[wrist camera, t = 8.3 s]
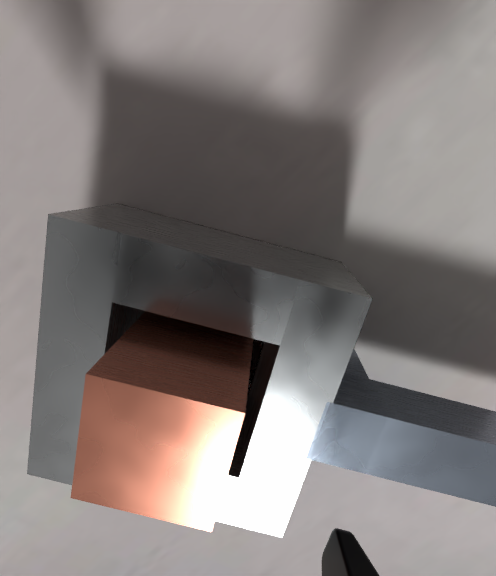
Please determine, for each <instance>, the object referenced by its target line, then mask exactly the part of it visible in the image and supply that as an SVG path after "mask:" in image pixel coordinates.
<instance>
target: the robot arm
mask: <svg viewBox="0 0 496 576" xmlns="http://www.w3.org/2000/svg"><path fill="white" fill-rule="evenodd" d="M322 576H379V574H378V573H377V571H376V570H375V568H374V566H373V565H372V563H371V562H370V560H369V559H368V557H367V555H366V554H365V552H364V551H363V549H362V548H361V546H360V544H359V543H358V541H357V540H356V538H355V537H354V535H353V534H352V533H351V532H349V531H345V530H341V529H334V530H333V531H332V533H331V535H330V538H329V540H328V542H327V545H326V547H325V549H324V552H323V556H322Z"/></svg>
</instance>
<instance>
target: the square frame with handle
mask: <svg viewBox="0 0 496 576" xmlns="http://www.w3.org/2000/svg"><path fill="white" fill-rule="evenodd" d="M371 301H372V297H371V296H370V295H369V294H368V293H367V292H366V290H365V289H364V288H363V287H362V286H361V285H360V283H359V282H358V281H357V280H356V279H355V278H354V276H353V275H352V274H351V273H350V272H349V270H348V269H347V268H346V267H345V266H344V265H343V263H342V262H339V261H335V260H331V259H327V258H324V257H320V256H316V255H312V254H308V253H305V252H301V251H297V250H293V249H289V248H285V247H282V246H278V245H274V244H270V243H266V242H262V241H259V240H255V239H251V238H247V237H243V236H240V235H236V234H232V233H228V232H224V231H220V230H217V229H213V228H209V227H205V226H201V225H197V224H194V223H190V222H186V221H182V220H178V219H174V218H171V217H167V216H163V215H159V214H155V213H152V212H148V211H144V210H140V209H136V208H132V207H129V206H125V205H121V204H111V205H104V206H98V207H91V208H85V209H79V210H72V211H66V212H59V213H53V214H48V223H47V235H46V247H45V260H44V272H43V284H42V297H41V309H40V322H39V334H38V346H37V359H36V371H35V383H34V396H33V408H32V420H31V433H30V445H29V458H28V470H27V474H29V475H33V476H37V477H41V478H45V479H49V480H53V481H57V482H61V483H65V484H69V485H72V484H73V475H74V467H75V459H76V450H77V442H78V433H79V425H80V417H81V408H82V400H83V392H84V383H85V375H86V373H87V372H88V371H89V370H90V369H91V368H92V367H93V366H94V365H95V364H96V363H97V361H98V360H99V359H100V358H101V357H102V356H103V355H104V354H105V353H106V352H107V351H108V350H109V349H110V348H111V347H112V346H113V345H114V344H115V343H116V342H117V341H118V339H119V338H120V337H121V336H122V335H123V334H124V333H125V332H126V331H127V330H128V329H129V328H130V327H131V326H132V325H133V324H134V323H135V322H136V321H137V320H138V319H139V317H140V316H141V315H142V314H143V313H144V312H145V311H148V312H151V313H155V314H159V315H163V316H167V317H171V318H175V319H179V320H183V321H186V322H190V323H194V324H198V325H202V326H206V327H210V328H214V329H217V330H221V331H225V332H229V333H233V334H237V335H241V336H245V337H249V338H252V339H256V340H260V341H264V344H263V347H262V351H261V354H260V358H259V361H258V365H257V368H256V371H255V375H254V378H253V382H252V385H251V388H250V392H249V395H248V398H247V402H246V411H245V416H244V419H243V423H242V426H241V430H240V433H239V437H238V440H237V444H236V448H235V451H234V455H233V458H232V462H231V465H230V469H229V472H228V476H227V479H226V483H225V486H224V490H223V493H222V497H221V500H220V504H219V507H218V511H217V515H216V518H215V521H218V522H222V523H226V524H230V525H234V526H238V527H242V528H246V529H250V530H254V531H258V532H262V533H266V534H270V535H274V536H278V537H283V534H284V531H285V529H286V526H287V523H288V521H289V518H290V515H291V513H292V510H293V508H294V505H295V502H296V500H297V497H298V494H299V492H300V489H301V486H302V484H303V481H304V479H305V476H306V473H307V471H308V468H309V465H310V463H311V460H314V461H318V462H322V463H326V464H330V465H333V466H337V467H341V468H345V469H349V470H353V471H357V472H361V473H365V474H369V475H373V476H377V477H381V478H385V479H389V480H393V481H397V482H401V483H405V484H409V485H412V486H416V487H420V488H424V489H428V490H432V491H436V492H440V493H444V494H448V495H452V496H456V497H460V498H464V499H468V500H472V501H476V502H480V503H484V504H488V505H491V506H495V507H496V412H495V411H491V410H487V409H483V408H480V407H476V406H472V405H468V404H464V403H460V402H456V401H452V400H448V399H445V398H441V397H437V396H433V395H429V394H425V393H421V392H417V391H413V390H410V389H406V388H402V387H398V386H394V385H390V384H386V383H382V382H378V381H374V380H371V379H369V378H368V376H367V374H366V372H365V370H364V368H363V366H362V364H361V362H360V360H359V358H358V356H357V353H356V351H355V349H354V346H355V344H356V341H357V338H358V336H359V333H360V331H361V328H362V325H363V323H364V320H365V317H366V315H367V312H368V309H369V307H370V304H371Z"/></svg>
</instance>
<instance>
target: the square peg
mask: <svg viewBox="0 0 496 576" xmlns="http://www.w3.org/2000/svg"><path fill="white" fill-rule="evenodd" d="M252 347H253V339H252V338H249V337H245V336H241V335H237V334H233V333H229V332H225V331H221V330H217V329H214V328H210V327H206V326H202V325H198V324H194V323H190V322H186V321H183V320H179V319H175V318H171V317H167V316H163V315H159V314H155V313H151V312H148V311H145V312H144V313H143V314H142V315H141V316H140V317H139V319H138V320H137V321H136V322H135V323H134V324H133V325H132V326H131V327H130V328H129V329H128V330H127V331H126V332H125V333H124V334H123V335H122V336H121V337H120V338H119V339H118V341H117V342H116V343H115V344H114V345H113V346H112V347H111V348H110V349H109V350H108V351H107V352H106V353H105V354H104V355H103V356H102V357H101V358H100V359H99V360H98V361H97V363H96V364H95V365H94V366H93V367H92V368H91V369H90V370H89V371H88V372H87V373H86V375H85V383H84V392H83V400H82V408H81V417H80V425H79V433H78V442H77V450H76V459H75V467H74V475H73V484H72V492H71V498H73V499H77V500H81V501H86V502H90V503H94V504H98V505H102V506H106V507H110V508H114V509H119V510H123V511H127V512H131V513H135V514H139V515H143V516H147V517H152V518H156V519H160V520H164V521H168V522H172V523H176V524H180V525H185V526H189V527H193V528H197V529H201V530H205V531H209V532H212V529H213V525H214V522H215V518H216V515H217V511H218V507H219V504H220V500H221V497H222V493H223V490H224V486H225V483H226V479H227V476H228V472H229V469H230V465H231V462H232V458H233V455H234V451H235V448H236V444H237V440H238V437H239V433H240V430H241V426H242V423H243V419H244V416H245V411H246V402H247V392H248V383H249V374H250V365H251V356H252Z"/></svg>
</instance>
